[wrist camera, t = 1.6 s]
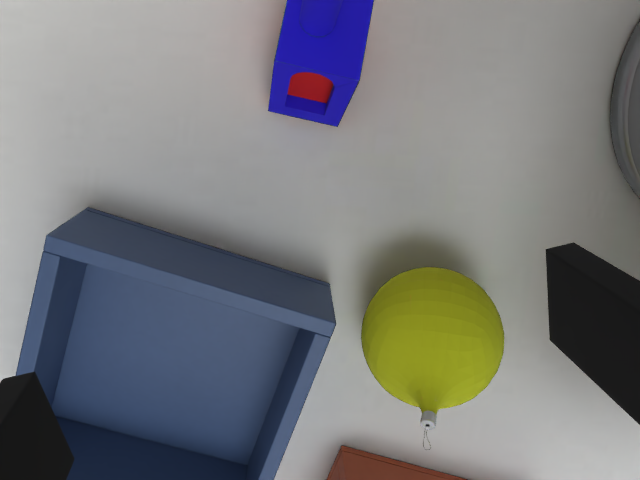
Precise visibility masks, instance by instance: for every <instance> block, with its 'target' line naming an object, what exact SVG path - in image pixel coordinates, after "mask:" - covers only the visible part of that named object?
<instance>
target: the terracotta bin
mask: <svg viewBox="0 0 640 480" xmlns="http://www.w3.org/2000/svg"><path fill="white" fill-rule="evenodd" d="M327 480H467V479H464V478H460V477H456V476H453V475H449V474H445V473H441V472H438V471H434V470H430V469H427V468H423V467H419V466H416V465H412V464H408V463H405V462H401V461H397V460H394V459H390V458H386V457H382V456H379V455H375V454H371V453H368V452H364V451H360V450H357V449H353V448H349V447H346V446H341V448H340V450H339V452H338V455H337V457H336V459H335V461H334V464H333V466H332V468H331V471H330V473H329V475H328V477H327Z"/></svg>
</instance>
